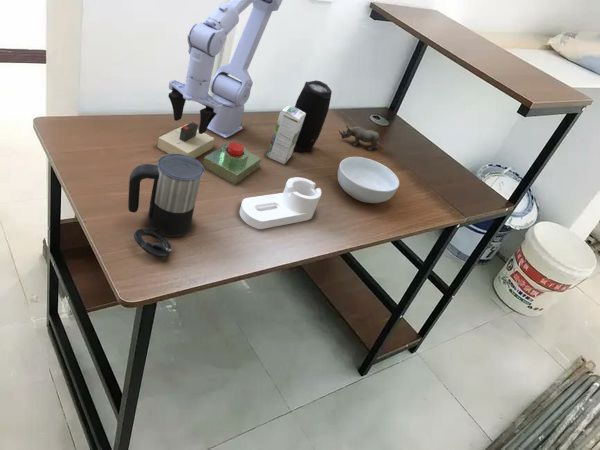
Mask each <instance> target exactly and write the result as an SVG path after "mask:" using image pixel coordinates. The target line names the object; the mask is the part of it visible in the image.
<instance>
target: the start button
mask: <svg viewBox="0 0 600 450" xmlns="http://www.w3.org/2000/svg"><path fill="white" fill-rule="evenodd" d="M228 143H229V142H228ZM244 148H245V146H243V144H241V143H239V142H234V141H233V142H231V143H229V145H228V149H227V152H228V153H229V154H231V155H234V156H242V155H243V151H244Z"/></svg>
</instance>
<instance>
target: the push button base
mask: <svg viewBox="0 0 600 450" xmlns="http://www.w3.org/2000/svg"><path fill="white" fill-rule="evenodd" d="M229 143H232V142H230V141H229V142H228V143H225V144H223V145H222V146H221V147H219V148H217V149H215V150H213V151H212V152H210V153H209V154H206V155H205V156H204V157H203V160H202V165H203V167H204V169H205V170H207V171H209V172H211V173H213V174H214V175H217V176H218V177H220V178H222V179H223V180H226V181H227V182H229V183H231V184H233V185H237V184H238V183H240V182H241V181H242V180H244V179H246V178H247V177H248V176H250V175H251V174H252V173H253V172H255V171H257V170H258V169H259V168H260V165H261V161H262V158H261V157H259V156H258V155H256V154H253V153H251V152H249V151H248V150H247V149H246V148H245V147H244V151H243V155H242V156H234V155H231V154H229V153H228V152H227V149H228V145H229Z"/></svg>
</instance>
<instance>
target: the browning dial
mask: <svg viewBox="0 0 600 450" xmlns="http://www.w3.org/2000/svg"><path fill="white" fill-rule="evenodd" d="M187 124H188V125H186V124H185V125H186V126H184V125H182V126H183V127H182V126H181V127H182V128H181V133H180V138H179V139H180V140H182V141H184V142H185V141H187V140H189V139H191V138H193V137H195V136H196V133H197V129H198V128H199V124H197V123H195V122H193V121H192V122H190V123H187Z"/></svg>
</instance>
